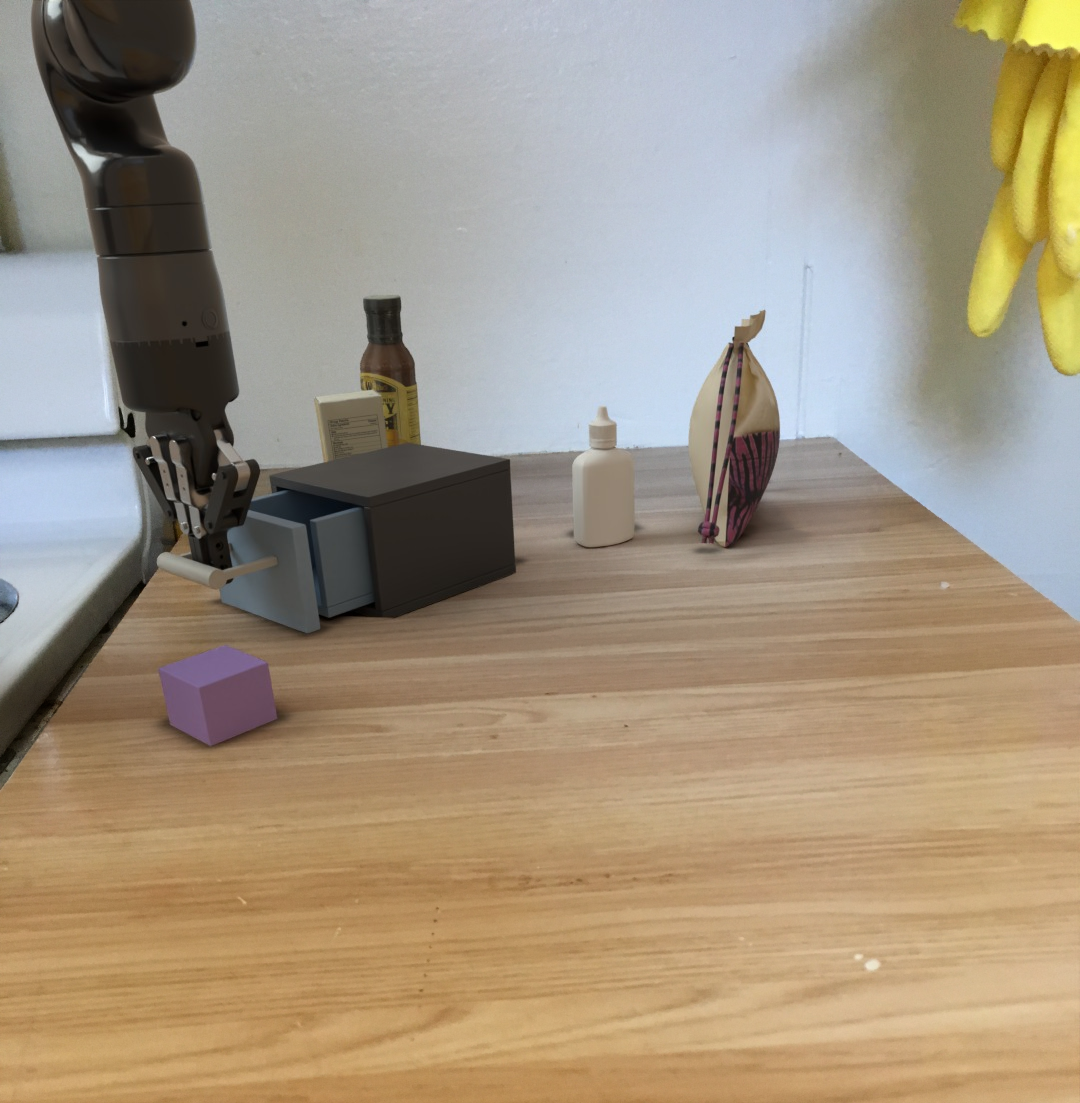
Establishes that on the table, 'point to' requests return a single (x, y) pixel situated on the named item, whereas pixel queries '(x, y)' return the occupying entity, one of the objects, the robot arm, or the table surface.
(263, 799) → the table surface
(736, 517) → the pouch
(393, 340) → the sauce bottle
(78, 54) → the robot arm
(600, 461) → the eye dropper bottle
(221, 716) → the block
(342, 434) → the cosmetic box
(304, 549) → the blue drawer
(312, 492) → the drawer cabinet
